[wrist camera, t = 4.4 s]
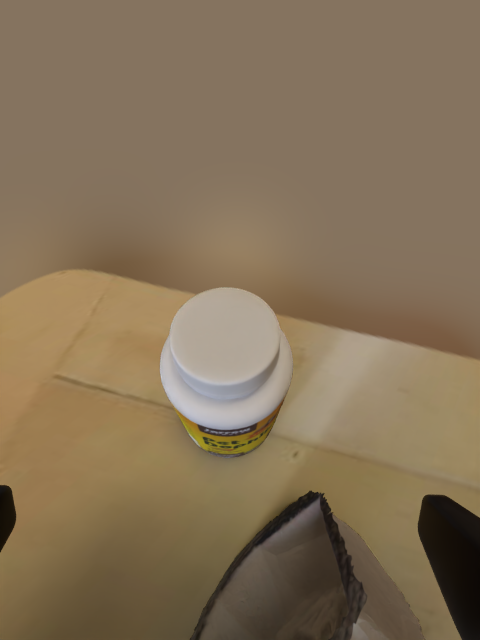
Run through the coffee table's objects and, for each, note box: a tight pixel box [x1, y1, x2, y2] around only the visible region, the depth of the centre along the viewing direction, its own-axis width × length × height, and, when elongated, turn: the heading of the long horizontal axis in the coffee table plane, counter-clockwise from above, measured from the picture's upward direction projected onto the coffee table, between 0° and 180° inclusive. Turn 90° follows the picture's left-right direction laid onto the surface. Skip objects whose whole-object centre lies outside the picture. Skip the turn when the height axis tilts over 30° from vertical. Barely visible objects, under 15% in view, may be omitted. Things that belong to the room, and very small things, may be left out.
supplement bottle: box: [160, 288, 293, 457], centre depth 16 cm, size 6×6×10 cm
